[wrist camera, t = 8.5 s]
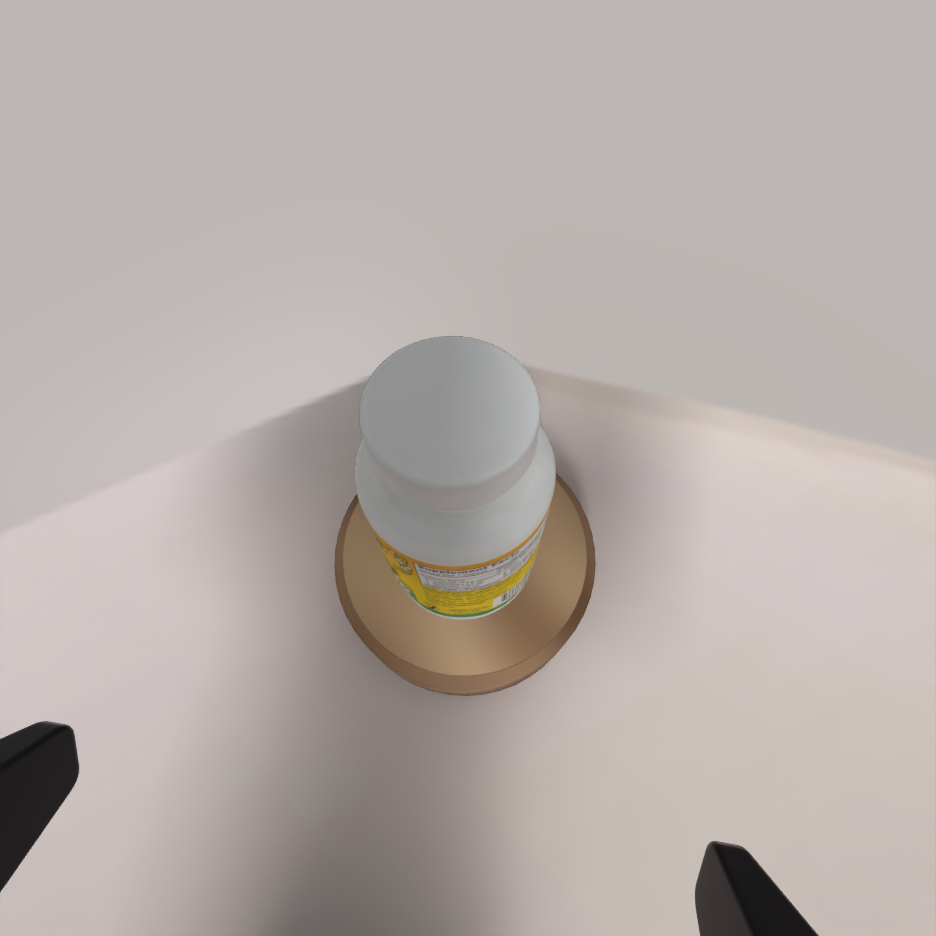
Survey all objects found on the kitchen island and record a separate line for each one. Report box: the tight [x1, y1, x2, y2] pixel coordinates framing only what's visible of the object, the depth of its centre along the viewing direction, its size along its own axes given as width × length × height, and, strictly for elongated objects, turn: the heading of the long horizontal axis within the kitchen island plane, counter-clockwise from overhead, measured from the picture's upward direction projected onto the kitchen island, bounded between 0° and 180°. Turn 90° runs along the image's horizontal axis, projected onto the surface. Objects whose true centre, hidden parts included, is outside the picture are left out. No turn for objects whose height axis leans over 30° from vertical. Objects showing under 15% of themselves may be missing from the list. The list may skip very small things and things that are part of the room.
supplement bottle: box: [355, 336, 556, 620], centre depth 16 cm, size 5×5×10 cm
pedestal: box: [335, 474, 595, 696], centre depth 21 cm, size 10×10×3 cm
